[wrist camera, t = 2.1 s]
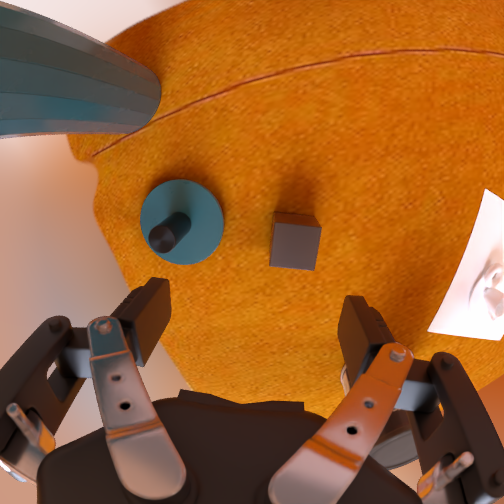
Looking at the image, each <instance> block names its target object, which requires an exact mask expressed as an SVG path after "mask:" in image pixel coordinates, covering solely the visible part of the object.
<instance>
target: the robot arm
mask: <svg viewBox="0 0 504 504" xmlns="http://www.w3.org/2000/svg"><path fill="white" fill-rule="evenodd" d="M170 317H171V298H170V285H169V281H168V279H164V278H155V277H152V278H151V279H150V280H149V281H148V282H147V283H146V284H145V285H144V286H140V287H138V288H136V289H134V290H132V291H131V293H130V294H129V295H128V296H127V298H125V299H124V300H123V303H121V304H120V305H119V306H118V307H117V308H116V309H115V311H114V312H113V313H112V314H111V315H110V316H103V317H98V318H96V319H94V320H92V321H91V322H90V323H89V324H88V326H87V328H77V327H75V328H73V327H72V326H71V323H70V320H69V319H68V318H67V317H65V316H54V317H51V318H48V319H47V320H46V321H44V322H43V323H42V324H41V325H40V326H39V327H38V328H37V329H36V330H35V331H34V333H33V334H32V335H31V336H30V337H29V338H28V339H27V340H26V341H25V342H24V343H23V345H22V346H21V347H20V348H19V349H18V350H17V351H16V352H15V354H14V355H13V356H12V357H11V358H10V359H9V361H7V363H6V364H5V365H4V366H3V367H2V369H1V370H0V467H1V468H2V469H4V470H5V471H6V472H8V473H9V474H10V475H11V476H12V477H13V478H15V479H16V480H18V481H21V482H26V481H28V482H29V483H31V484H33V485H34V486H36V487H37V504H493V503H494V502H496V501H497V500H499V499H500V498H502V497H503V496H504V448H503V446H502V443H501V441H500V439H499V436H498V434H497V432H496V430H495V427H494V425H493V423H492V421H491V419H490V417H489V415H488V413H487V411H486V409H485V407H484V405H483V403H482V401H481V399H480V397H479V395H478V393H477V391H476V389H475V388H474V386H473V384H472V382H471V380H470V379H469V377H468V375H467V373H466V372H465V370H464V368H463V367H462V365H461V363H460V362H459V360H458V359H457V358H456V357H455V356H453V355H451V354H449V353H446V352H437V353H435V354H434V355H433V357H432V359H431V361H424V360H418V359H414V355H413V353H412V352H411V350H410V349H409V348H407V347H406V346H404V345H402V344H398V343H396V342H395V340H394V338H393V336H392V334H391V332H390V331H389V329H388V327H387V325H386V323H385V321H384V320H383V318H382V316H381V314H380V313H379V312H378V311H377V310H375V309H374V308H373V307H369V306H368V304H367V303H366V301H365V299H364V297H363V296H353V295H347V296H346V297H345V300H344V304H343V308H342V312H341V316H340V320H339V324H338V339H339V342H340V346H341V349H342V353H343V356H344V360H345V364H346V367H347V371H348V375H349V378H350V382H351V386H352V388H351V389H350V391H349V392H348V393H347V395H346V396H345V398H344V399H343V400H342V401H341V403H340V404H339V405H338V407H337V408H336V409H335V411H334V412H333V413H332V414H331V416H330V417H329V418H328V419H325V418H324V417H322V416H320V415H317V414H315V413H312V412H308V411H304V402H293V401H266V402H257V403H248V404H239V403H235V402H232V401H229V400H226V399H223V398H220V397H217V396H214V395H211V394H207V393H200V392H194V391H188V390H183V389H181V390H180V392H179V395H178V397H173V398H165V399H160V400H156V401H153V402H151V400H150V397H149V395H148V393H147V391H146V388H145V386H144V383H143V381H142V378H141V376H140V373H139V371H138V368H137V366H141V367H144V366H145V364H146V362H147V360H148V358H149V357H150V355H151V353H152V351H153V350H154V348H155V346H156V344H157V342H158V341H159V339H160V337H161V335H162V333H163V332H164V330H165V328H166V326H167V324H168V323H169V321H170ZM53 362H55V364H56V366H57V367H56V369H55V370H54V371H53V373H52V374H51V375H50V377H49V378H48V380H47V371H48V368H49V367H50V366H51V365H52V363H53ZM87 378H92V379H93V385H94V389H95V393H96V398H97V403H98V407H99V411H100V415H101V418H102V422H103V426H104V427H102V428H100V429H98V430H96V431H94V432H92V433H90V434H87V435H86V436H83V437H81V438H79V439H77V440H74V441H72V442H70V443H68V444H65V445H63V446H61V447H58V448H57V449H55V446H56V442H55V438H54V435H55V433H56V431H57V429H58V428H59V426H60V424H61V422H62V420H63V418H64V417H65V415H66V413H67V411H68V409H69V408H70V406H71V404H72V402H73V401H74V399H75V397H76V396H77V394H78V392H79V390H80V389H81V387H82V385H83V384H84V382H85V380H86V379H87ZM440 402H441V405H442V407H443V410H444V417H443V416H442V414H441V411H440V409H439V406H438V405H439V404H440ZM394 408H395V409H401V410H405V411H406V414H407V417H408V421H409V424H410V428H411V431H412V435H413V438H414V442H415V446H416V450H417V454H418V458H419V462H420V466H421V470H422V474H423V476H422V477H421V478H420V479H419V481H418V484H417V493H416V492H415V491H414V490H412V488H410V487H409V486H408V485H406V484H405V483H404V482H402V481H401V480H400V479H399V478H397V477H396V476H395V475H393V474H392V473H391V472H390V471H388V470H387V469H386V468H385V467H383V466H382V465H381V464H380V463H379V462H377V461H376V460H375V459H374V458H372V457H371V456H370V455H369V453H370V451H371V450H372V448H373V446H374V444H375V443H376V441H377V439H378V437H379V436H380V434H381V432H382V430H383V428H384V426H385V425H386V423H387V421H388V419H389V417H390V415H391V413H392V411H393V409H394Z"/></svg>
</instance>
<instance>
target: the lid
mask: <svg viewBox="0 0 504 504" xmlns="http://www.w3.org/2000/svg"><path fill="white" fill-rule="evenodd" d="M140 224H141V230H142V233H143V236H144V238H145V240H146V242H147V244H148V245H149V247H150V248H151V249H152V250H153V251H154V252H155V253H156V254H157V255H158V256H160V257H161V258H163V259H164V260H166V261H169V262H171V263H175V264H180V265H189V264H194V263H198V262H200V261H202V260H204V259H206V258H207V257H209V256H210V255H211V254H212V253H213V252H214V251H215V249H216V248H217V247H218V245H219V243H220V241H221V238H222V236H223V231H224V216H223V212H222V209H221V206H220V204H219V202H218V200H217V199H216V197H215V196H214V195H213V194H212V192H210V191H209V190H208V189H207V188H206V187H204V186H203V185H201V184H199V183H197V182H195V181H192V180H187V179H174V180H170V181H167V182H164V183H162V184H160V185H158V186H157V187H156V188H154V189H153V190H152V191H151V192H150V193H149V195H148V196H147V197H146V199H145V201H144V203H143V206H142V209H141V215H140Z"/></svg>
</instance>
